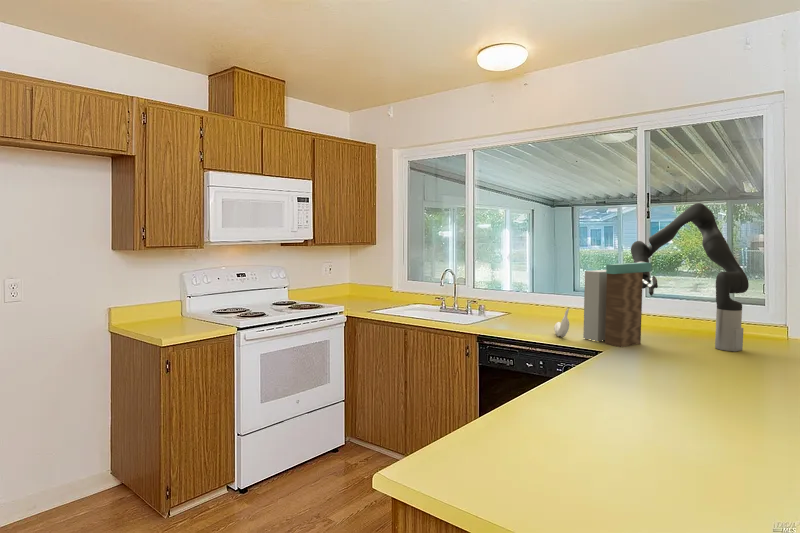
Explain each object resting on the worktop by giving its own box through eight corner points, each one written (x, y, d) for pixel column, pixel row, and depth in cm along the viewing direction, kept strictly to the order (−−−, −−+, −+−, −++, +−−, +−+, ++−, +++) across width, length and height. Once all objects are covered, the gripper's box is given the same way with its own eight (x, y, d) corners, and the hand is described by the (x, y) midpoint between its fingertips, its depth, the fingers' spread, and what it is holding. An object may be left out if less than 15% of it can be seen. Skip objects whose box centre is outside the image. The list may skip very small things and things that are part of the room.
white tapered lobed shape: (560, 332, 262) (560, 303, 261) (571, 340, 243) (572, 309, 242) (550, 332, 262) (551, 303, 261) (561, 340, 243) (562, 309, 242)
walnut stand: (624, 340, 243) (626, 271, 241) (640, 343, 236) (642, 272, 234) (605, 343, 236) (606, 272, 234) (620, 347, 229) (622, 274, 227)
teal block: (643, 270, 244) (643, 262, 243) (651, 271, 240) (651, 262, 240) (606, 273, 230) (606, 264, 230) (614, 274, 227) (614, 264, 227)
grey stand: (603, 335, 253) (604, 269, 251) (617, 338, 246) (619, 270, 244) (583, 339, 246) (584, 271, 244) (597, 342, 239) (599, 272, 237)
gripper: (659, 273, 256) (660, 298, 245) (630, 281, 265) (630, 305, 254) (652, 263, 253) (653, 287, 242) (623, 272, 262) (623, 295, 251)
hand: (641, 296), depth 248 cm, fingers open, 8 cm apart
